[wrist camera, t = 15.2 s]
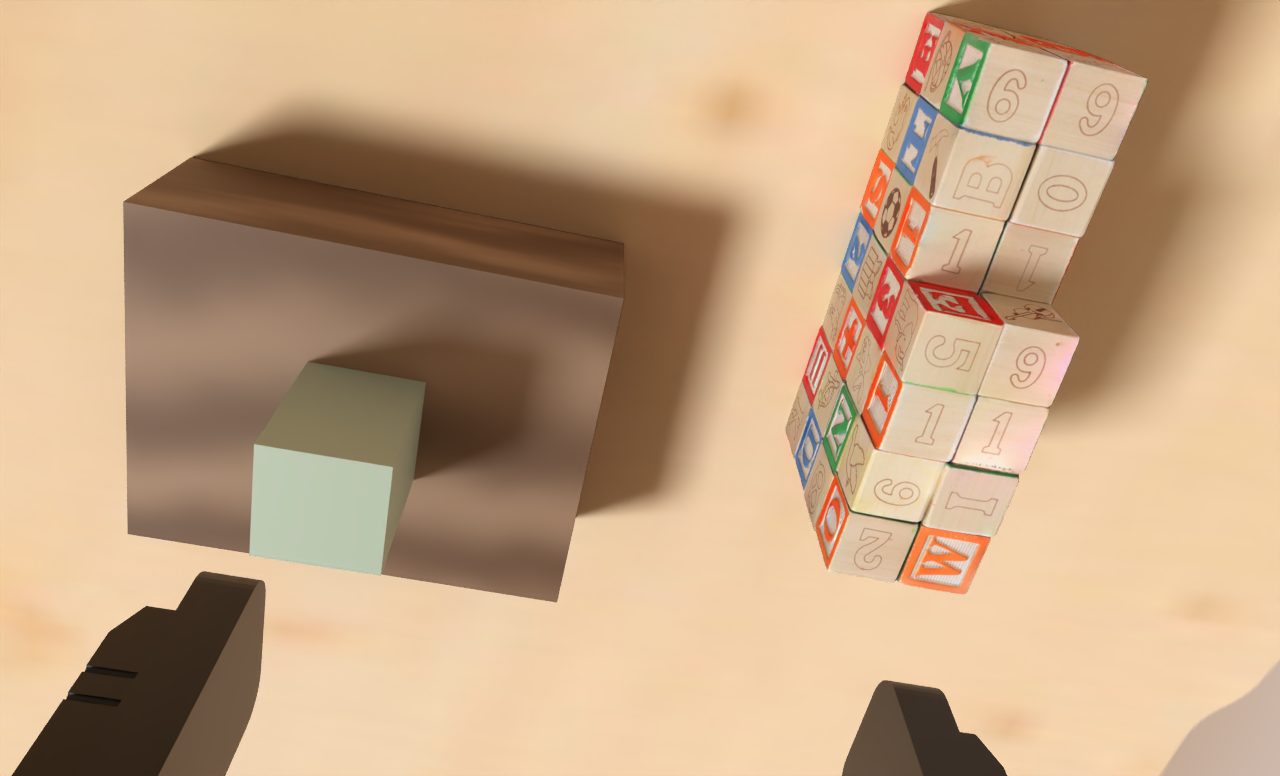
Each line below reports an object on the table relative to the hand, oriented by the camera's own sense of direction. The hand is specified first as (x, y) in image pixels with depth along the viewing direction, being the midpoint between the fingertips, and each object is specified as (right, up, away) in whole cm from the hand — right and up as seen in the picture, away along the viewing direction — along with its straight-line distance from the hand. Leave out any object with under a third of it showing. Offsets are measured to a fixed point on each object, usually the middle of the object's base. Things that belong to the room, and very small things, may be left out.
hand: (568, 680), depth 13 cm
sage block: (-11, +2, +31) cm, 33 cm away
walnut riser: (-11, +5, +38) cm, 40 cm away
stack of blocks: (+14, +10, +36) cm, 40 cm away
